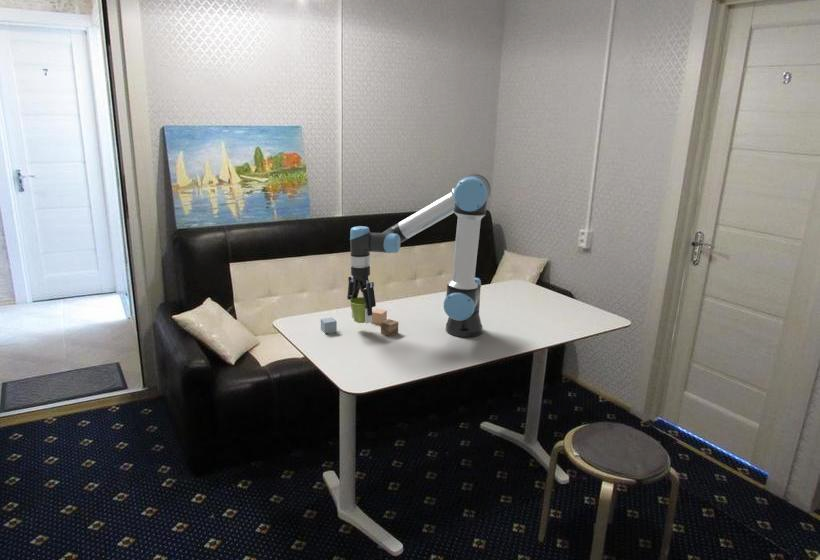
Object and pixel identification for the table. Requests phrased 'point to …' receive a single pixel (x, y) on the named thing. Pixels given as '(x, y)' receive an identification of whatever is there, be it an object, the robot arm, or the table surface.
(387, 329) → the walnut cube
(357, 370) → the table surface
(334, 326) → the slate grey cube
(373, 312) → the terracotta cube
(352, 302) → the plant pot
